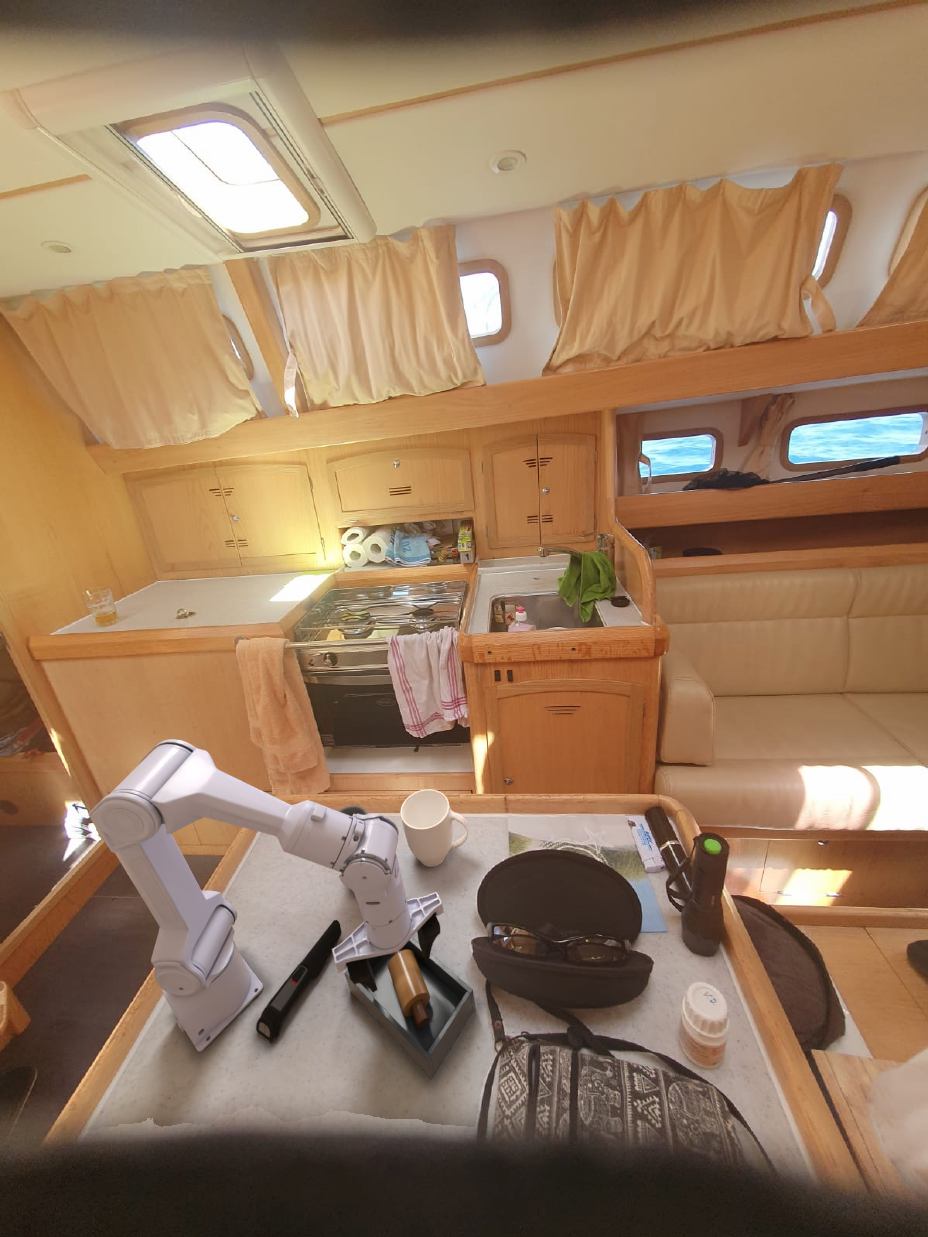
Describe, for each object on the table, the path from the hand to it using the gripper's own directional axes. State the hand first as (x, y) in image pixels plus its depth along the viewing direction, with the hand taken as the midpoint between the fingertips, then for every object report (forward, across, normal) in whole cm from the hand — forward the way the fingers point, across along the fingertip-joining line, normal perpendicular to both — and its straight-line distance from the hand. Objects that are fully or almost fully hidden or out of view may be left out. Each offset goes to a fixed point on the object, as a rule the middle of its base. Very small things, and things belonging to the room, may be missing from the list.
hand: (399, 967), depth 62 cm
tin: (+7, 0, +1) cm, 7 cm away
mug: (+7, -14, -18) cm, 24 cm away
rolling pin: (+6, 0, 0) cm, 6 cm away
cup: (+7, 0, -21) cm, 22 cm away
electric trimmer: (+7, +13, -10) cm, 17 cm away
